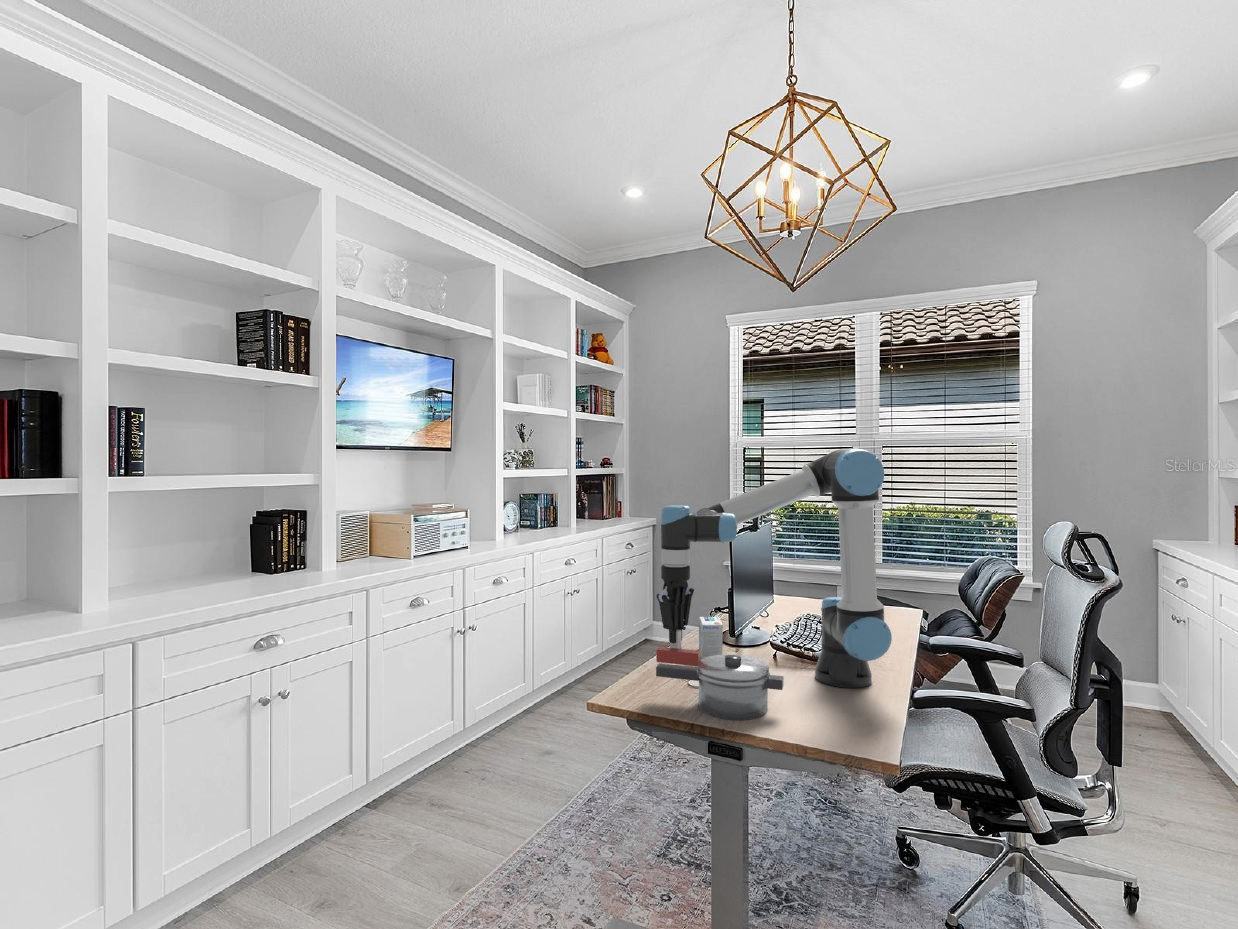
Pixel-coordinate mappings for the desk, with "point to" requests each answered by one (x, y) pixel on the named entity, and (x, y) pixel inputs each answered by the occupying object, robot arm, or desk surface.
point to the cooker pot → (726, 692)
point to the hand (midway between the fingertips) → (675, 654)
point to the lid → (716, 664)
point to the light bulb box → (710, 636)
